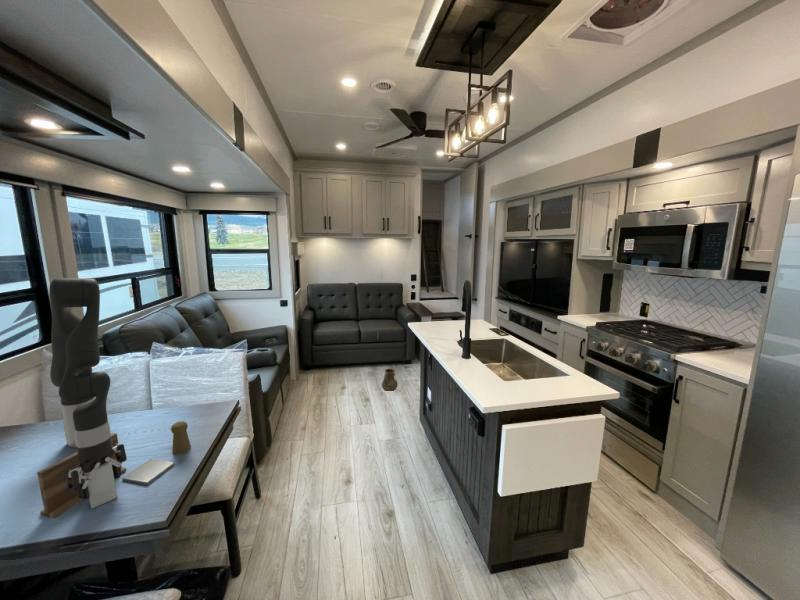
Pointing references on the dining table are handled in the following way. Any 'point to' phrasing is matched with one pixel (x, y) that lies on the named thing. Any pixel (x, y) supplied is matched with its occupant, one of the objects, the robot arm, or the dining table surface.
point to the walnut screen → (61, 484)
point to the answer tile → (148, 471)
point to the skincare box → (102, 485)
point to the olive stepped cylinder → (180, 438)
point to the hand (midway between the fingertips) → (101, 487)
